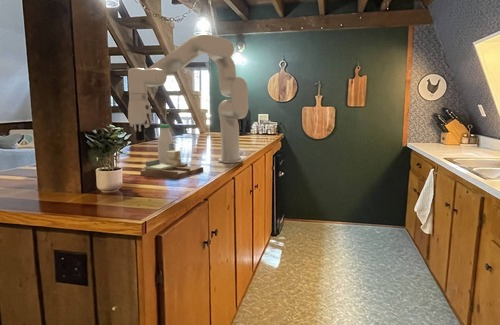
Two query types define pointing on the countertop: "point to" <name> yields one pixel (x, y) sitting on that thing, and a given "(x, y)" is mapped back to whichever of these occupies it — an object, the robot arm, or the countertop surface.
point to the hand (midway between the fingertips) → (140, 140)
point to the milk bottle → (164, 143)
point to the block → (173, 157)
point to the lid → (157, 165)
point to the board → (173, 171)
